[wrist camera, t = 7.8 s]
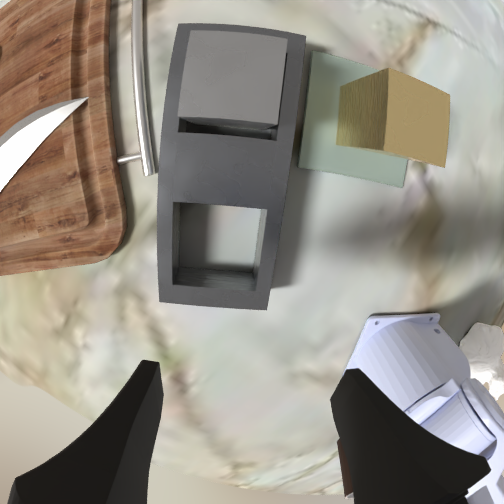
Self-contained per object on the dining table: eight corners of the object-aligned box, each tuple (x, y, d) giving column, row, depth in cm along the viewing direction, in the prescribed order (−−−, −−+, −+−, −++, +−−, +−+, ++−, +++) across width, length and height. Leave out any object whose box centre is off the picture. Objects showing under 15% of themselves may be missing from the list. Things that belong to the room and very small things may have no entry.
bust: (447, 364, 31) (500, 385, 23) (432, 398, 26) (492, 422, 18) (474, 300, 26) (536, 323, 18) (467, 332, 22) (538, 359, 14)
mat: (412, 86, 14) (415, 85, 14) (399, 187, 17) (402, 188, 17) (311, 51, 13) (313, 50, 13) (296, 166, 16) (298, 167, 16)
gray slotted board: (296, 48, 13) (306, 35, 11) (262, 290, 20) (266, 310, 18) (185, 38, 13) (178, 23, 10) (166, 282, 19) (159, 301, 17)
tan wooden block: (392, 101, 14) (449, 95, 9) (387, 155, 16) (444, 167, 11) (340, 86, 14) (388, 67, 9) (335, 144, 16) (383, 150, 10)
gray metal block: (268, 71, 14) (287, 38, 8) (261, 130, 16) (277, 124, 10) (204, 65, 14) (190, 30, 8) (196, 124, 15) (177, 116, 10)
